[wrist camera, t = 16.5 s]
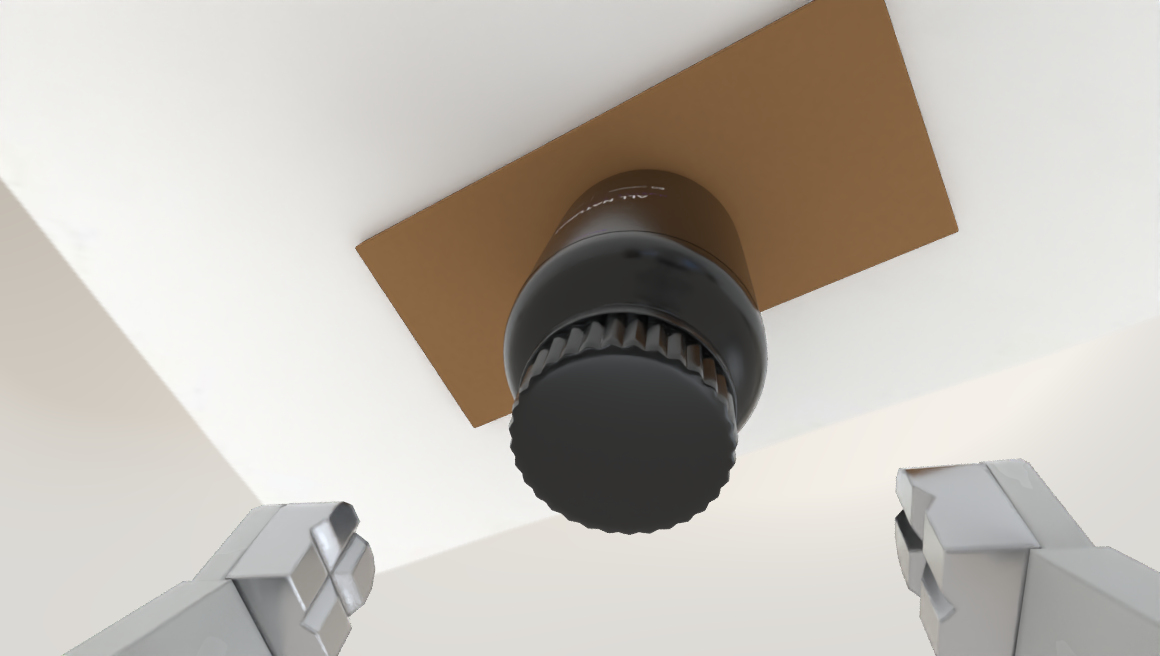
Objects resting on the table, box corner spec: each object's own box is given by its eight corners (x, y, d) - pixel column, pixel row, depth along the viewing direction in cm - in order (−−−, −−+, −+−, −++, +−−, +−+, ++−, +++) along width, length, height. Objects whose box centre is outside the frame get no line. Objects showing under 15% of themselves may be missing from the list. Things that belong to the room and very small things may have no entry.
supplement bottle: (614, 126, 23) (564, 220, 12) (779, 231, 23) (874, 409, 13) (520, 284, 25) (410, 478, 15) (670, 373, 26) (671, 618, 15)
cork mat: (869, -30, 20) (874, -32, 20) (952, 226, 23) (960, 231, 23) (360, 243, 26) (353, 247, 26) (477, 421, 29) (473, 429, 28)
